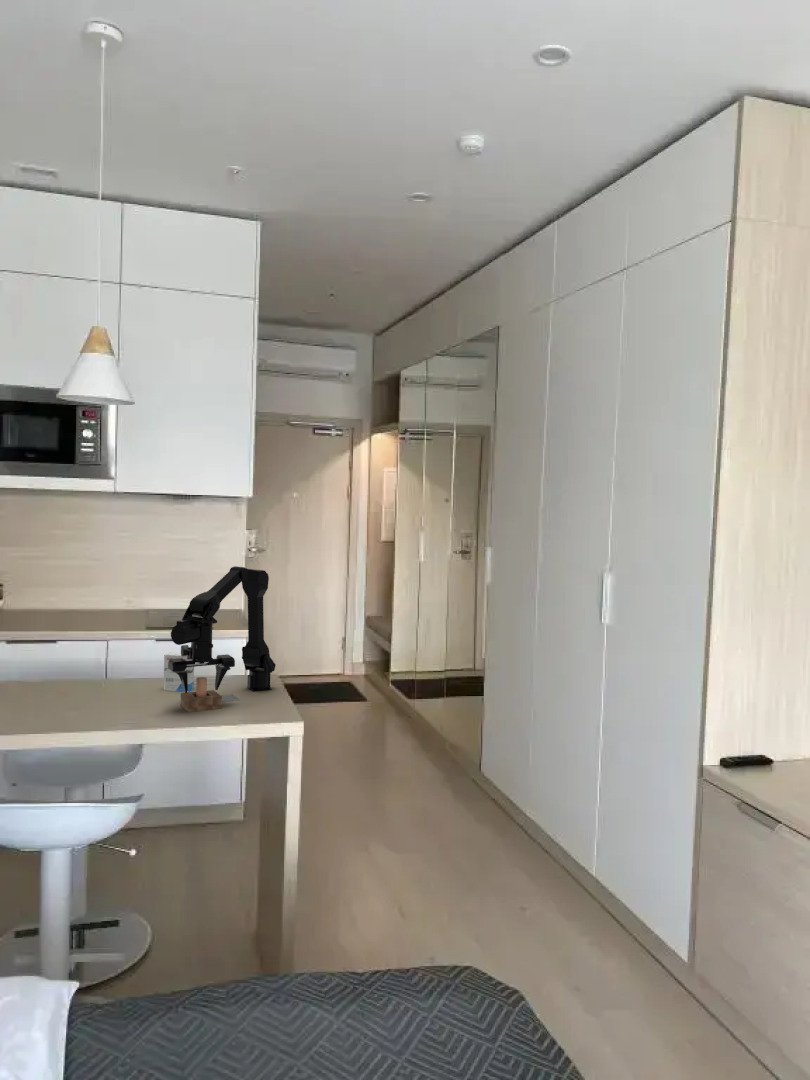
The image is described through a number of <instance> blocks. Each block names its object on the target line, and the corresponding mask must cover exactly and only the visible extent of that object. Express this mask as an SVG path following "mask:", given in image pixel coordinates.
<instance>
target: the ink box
mask: <svg viewBox="0 0 810 1080" xmlns="http://www.w3.org/2000/svg"><path fill="white" fill-rule="evenodd" d="M176 658H182V659H184V660H185V661H191V660H192V659H187V656H181V652H173V651H172V652H167V653H166V654H164V656H163V659H164V660H163V691H173V692H174V691H175V692H185V691H184V688H183V685H182V682H181V679H180V677H179V675H178V674H176V673H175V672H173V671H171V670H170V669H169V668H168V662H169V660H170V659H176ZM185 671H187V672H188V691H189V692H192V690H193V689H195V687H194V685H195V684H194V683H195V667H187V668H186V669H185Z"/></svg>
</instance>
